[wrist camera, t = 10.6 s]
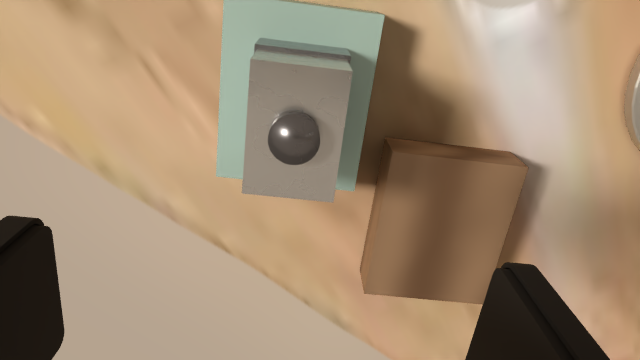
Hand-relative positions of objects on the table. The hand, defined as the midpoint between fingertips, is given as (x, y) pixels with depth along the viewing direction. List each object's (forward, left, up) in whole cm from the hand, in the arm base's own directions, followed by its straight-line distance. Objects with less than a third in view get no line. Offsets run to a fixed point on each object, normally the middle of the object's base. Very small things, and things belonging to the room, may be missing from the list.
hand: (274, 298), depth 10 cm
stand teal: (0, 0, -22) cm, 22 cm away
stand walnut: (-11, +8, -22) cm, 26 cm away
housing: (0, 0, -19) cm, 19 cm away
